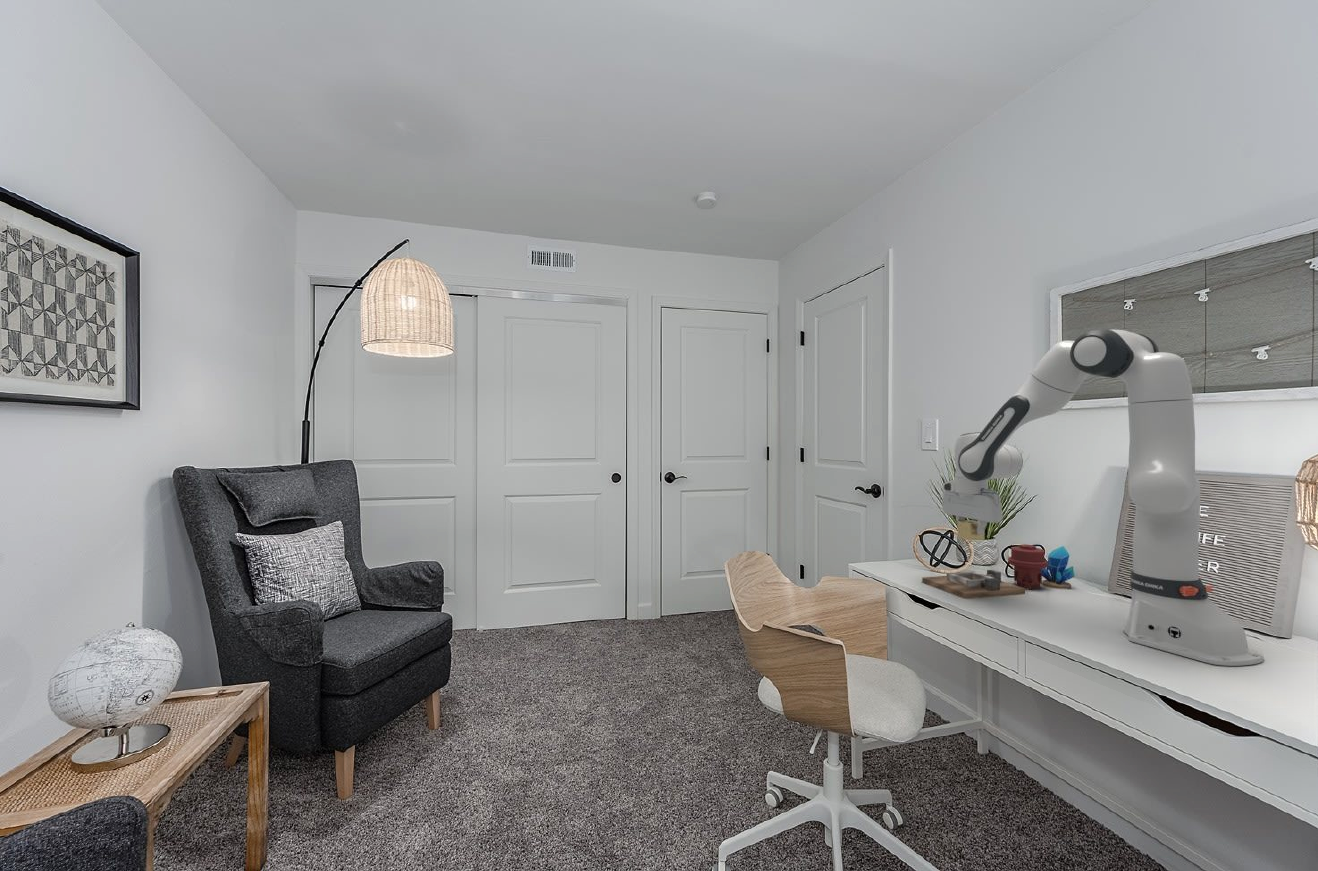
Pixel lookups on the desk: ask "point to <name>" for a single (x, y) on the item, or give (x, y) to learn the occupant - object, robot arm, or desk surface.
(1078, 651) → the desk surface
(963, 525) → the tan cube
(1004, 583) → the stand
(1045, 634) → the desk surface
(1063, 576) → the gemstone
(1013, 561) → the mechanical component
